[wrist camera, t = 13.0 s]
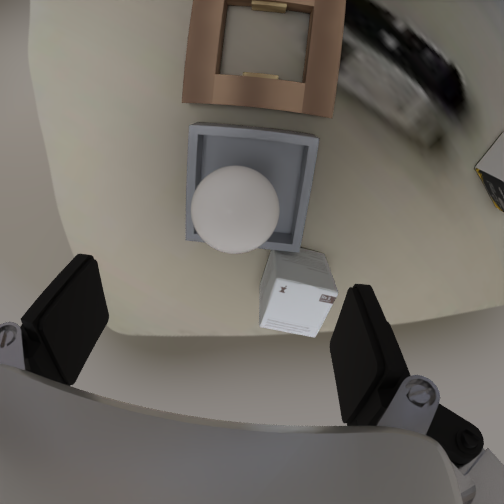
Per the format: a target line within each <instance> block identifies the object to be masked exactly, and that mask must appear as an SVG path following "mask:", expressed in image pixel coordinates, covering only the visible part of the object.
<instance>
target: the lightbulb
mask: <svg viewBox="0 0 504 504" xmlns="http://www.w3.org/2000/svg"><path fill="white" fill-rule="evenodd" d="M279 214H280V205H279V199H278V196H277V193H276V191H275V189H274V187H273V185H272V184H271V183H270V181H269V180H268V179H267V178H266V177H265V176H264V175H262V174H261V173H260V172H258V171H256V170H254V169H252V168H249V167H246V166H239V165H231V166H225V167H222V168H219V169H217V170H215V171H213V172H211V173H210V174H208V175H207V176H206V177H205V178H204V179H203V180H202V181H201V182H200V183H199V185H198V186H197V188H196V190H195V192H194V195H193V197H192V202H191V218H192V222H193V225H194V227H195V230H196V231H197V233H198V235H199V236H200V237H201V239H202V240H203V241H204V242H205V243H206V244H208V245H209V246H211V247H212V248H214V249H216V250H218V251H221V252H224V253H229V254H241V253H246V252H249V251H252V250H254V249H256V248H258V247H260V246H261V245H262V244H264V243H265V242H266V241H267V240H268V239H269V238H270V236H271V235H272V234H273V232H274V230H275V228H276V226H277V223H278V220H279Z"/></svg>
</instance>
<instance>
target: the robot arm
mask: <svg viewBox="0 0 504 504" xmlns="http://www.w3.org/2000/svg"><path fill="white" fill-rule="evenodd" d="M108 319H109V313H108V309H107V305H106V300H105V296H104V292H103V287H102V283H101V278H100V273H99V268H98V263H97V261H96V260H94V258H93V256H92V255H86V254H78V255H76V256H75V257H74V258H73V260H72V261H71V262H70V263H69V264H68V265H67V266H66V267H65V268H64V269H63V270H62V271H61V273H59V275H58V276H57V277H56V278H55V279H54V280H53V281H52V282H51V284H50V285H49V286H48V287H47V288H46V289H45V290H44V291H43V293H42V294H41V295H40V296H39V297H38V298H37V300H36V301H35V302H34V303H33V305H32V306H31V307H30V308H29V309H28V310H27V312H26V313H25V314H24V316H23V317H22V318H21V321H22V326H21V327H20V326H19V325H18V324H16V323H14V322H6V323H3V324H0V504H504V465H503V464H502V463H501V462H500V461H499V460H498V458H497V457H496V456H495V455H494V454H493V453H492V452H491V451H490V450H489V448H487V449H486V450H484V449H483V445H484V441H483V436H482V434H481V432H480V431H479V429H478V428H477V427H476V426H474V425H473V424H471V423H470V422H468V421H466V420H465V419H463V418H462V417H460V416H458V415H457V414H455V413H454V412H452V411H450V410H449V409H447V408H445V407H444V406H442V405H441V404H439V400H440V393H439V390H438V388H437V386H436V385H435V384H434V383H433V382H432V381H431V380H430V379H428V378H426V377H424V376H420V375H413V376H410V373H409V371H408V368H407V365H406V363H405V360H404V358H403V355H402V353H401V350H400V348H399V345H398V343H397V340H396V338H395V335H394V333H393V331H392V328H391V326H390V324H389V322H387V321H386V318H385V316H384V314H383V311H382V309H381V307H380V305H379V302H378V300H377V298H376V296H375V293H374V291H373V289H372V287H371V285H364V284H355V285H354V286H353V288H352V287H350V288H349V289H348V291H347V294H346V297H345V300H344V304H343V306H342V309H341V312H340V315H339V318H338V321H337V324H336V327H335V329H334V332H333V335H332V338H331V341H330V353H331V358H332V363H333V369H334V374H335V380H336V386H337V392H338V398H339V404H340V410H341V416H342V421H343V423H347V426H285V425H266V424H252V423H241V422H231V421H222V420H214V419H207V418H200V417H194V416H187V415H181V414H176V413H171V412H165V411H160V410H155V409H150V408H146V407H142V406H137V405H133V404H129V403H125V402H121V401H117V400H114V399H110V398H106V397H102V396H99V395H95V394H92V393H89V392H86V391H83V390H79V389H76V388H74V387H71V386H70V385H73V384H74V383H75V381H76V380H77V378H78V375H79V374H80V372H81V370H82V368H83V366H84V364H85V362H86V360H87V358H88V357H89V355H90V353H91V351H92V349H93V347H94V346H95V344H96V342H97V340H98V338H99V337H100V335H101V333H102V331H103V330H104V328H105V326H106V324H107V322H108Z"/></svg>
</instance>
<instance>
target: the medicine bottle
mask: <svg viewBox="0 0 504 504" xmlns="http://www.w3.org/2000/svg"><path fill="white" fill-rule="evenodd" d="M475 170H476V172H477V173H478V175H479V177H480V179H481V180H482V182H483V184H484V186H485V188H486V189H487V191H488V193H489V195H490V197H491V199H492V201H493V203H494V205H495V207H497V208H498V209H499V210H501V211H502V212H504V132H503V133H502V134H501V135H500V136H499V138H498V139H497V140H496V142H495V143H494V144H493V145H492V147H491V148H490V149H489V150H488V152H487V153H486V154H485V155H484V157H483V158H482V159H481V160H480V161H479V163H478V164H477V165H476V166H475Z"/></svg>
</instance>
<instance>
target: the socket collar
mask: <svg viewBox="0 0 504 504" xmlns="http://www.w3.org/2000/svg"><path fill="white" fill-rule="evenodd" d="M228 5H232V6H252V10H258V11H269V12H278V13H285V11H286V10H290V11H297V12H303V13H309V14H310V20H309V29H308V38H307V47H306V55H305V64H304V72H303V80H302V83H300V82H293V81H286V80H278V75H269V74H260V73H249V72H243V76H238V75H221V74H220V66H221V57H222V48H223V40H224V32H225V24H226V16H227V9H228ZM345 5H346V0H193V6H192V12H191V19H190V27H189V35H188V43H187V51H186V61H185V71H184V81H183V93H182V103H204V104H223V105H237V106H248V107H258V108H267V109H276V110H283V111H291V112H297V113H304V114H310V115H316V116H322V117H327V118H332V117H333V110H334V103H335V96H336V88H337V81H338V73H339V65H340V56H341V47H342V38H343V28H344V17H345Z"/></svg>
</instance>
